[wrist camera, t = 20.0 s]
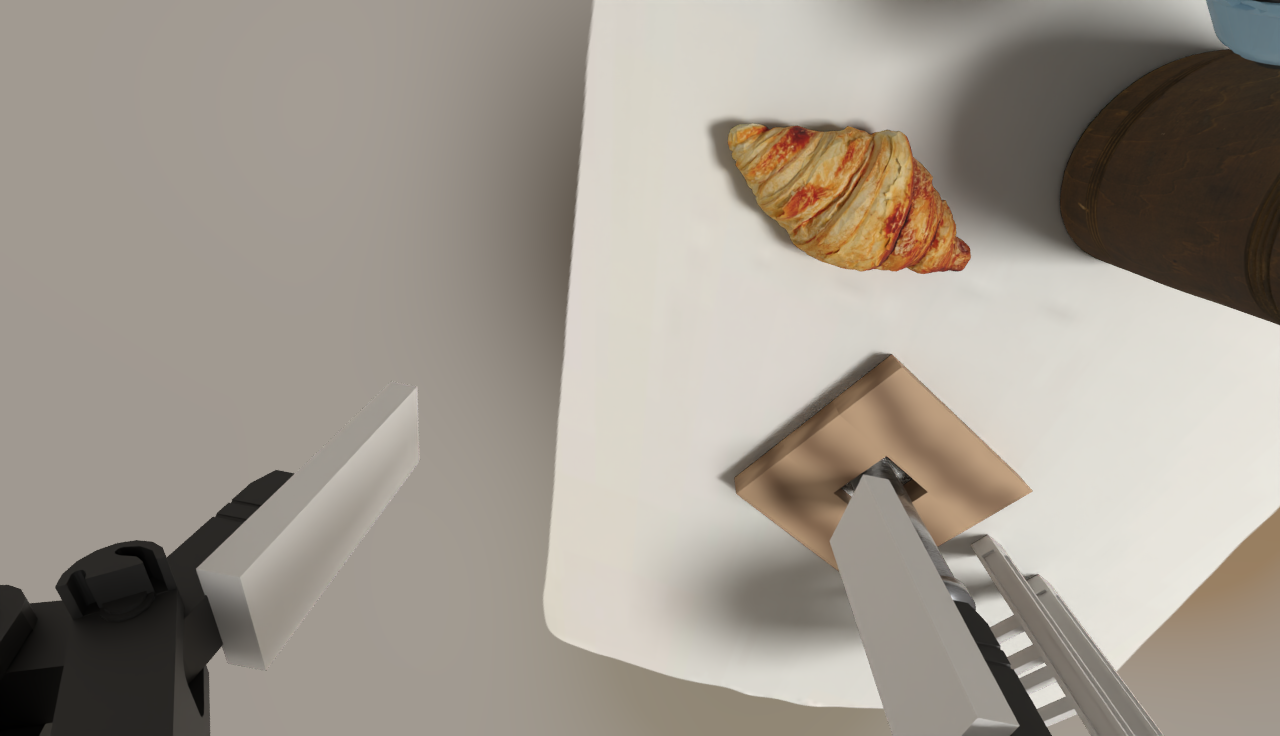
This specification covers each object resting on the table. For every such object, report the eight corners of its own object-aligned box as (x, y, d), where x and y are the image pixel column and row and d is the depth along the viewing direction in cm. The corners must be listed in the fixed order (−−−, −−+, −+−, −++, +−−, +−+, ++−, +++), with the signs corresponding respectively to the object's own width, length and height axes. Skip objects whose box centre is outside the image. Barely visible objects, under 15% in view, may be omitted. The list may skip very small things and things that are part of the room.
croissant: (708, 163, 44) (687, 220, 39) (770, 46, 36) (752, 101, 31) (917, 270, 46) (919, 336, 42) (1020, 184, 38) (1037, 254, 34)
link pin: (876, 447, 52) (948, 578, 38) (908, 475, 53) (990, 612, 39) (835, 476, 54) (888, 611, 40) (867, 502, 55) (930, 642, 41)
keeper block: (891, 354, 47) (902, 366, 45) (1018, 474, 52) (1032, 491, 50) (734, 477, 55) (736, 493, 53) (856, 571, 60) (863, 589, 58)
